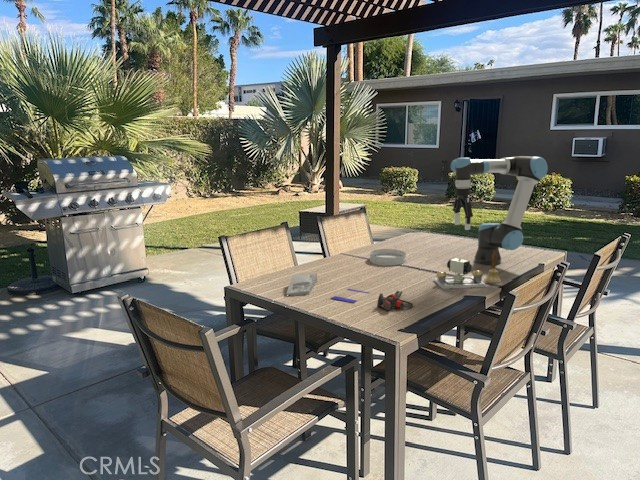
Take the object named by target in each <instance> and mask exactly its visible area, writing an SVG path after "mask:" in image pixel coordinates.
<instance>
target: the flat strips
mask: <svg viewBox="0 0 640 480" xmlns="http://www.w3.org/2000/svg"><path fill="white" fill-rule="evenodd" d="M346 291H352V292H356V293H362V294H363V293H364V294H370V292H369V291H363V290H362V291H361V290H358V289H352V288H347V289H346ZM330 299H333V300H336V301H337V300H338V301H341V302H342V301H343V302H348V303H352V304H353V303H355V302H357V301H358V300H356V299H351V298H346V297H341V296H337V295H335V296H332V297H330Z"/></svg>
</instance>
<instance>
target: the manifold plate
mask: <svg viewBox="0 0 640 480" xmlns="http://www.w3.org/2000/svg"><path fill="white" fill-rule="evenodd" d="M483 275H484V271H483V270H482V269H481V270H473V271H472V275H470V276H464V281H461V282H457V281H454V279H453V276H450V277H447V273H446V271H437V272H436V277H434V278H433V281H434V282H435V284H437V285H438V286H439V287H440V289H443V290H448V289H450V288H452V289H469V288H470V289H471V287H472V289H473V287H475V288H486V286H487V284H486V283H485V282H484V281H482V279H483Z"/></svg>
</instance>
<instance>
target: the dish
mask: <svg viewBox="0 0 640 480" xmlns="http://www.w3.org/2000/svg"><path fill="white" fill-rule="evenodd" d="M369 262H370V263H371V264H375V265H377V266H378V265H379V266H399V265H404V264H405V263H406V262H407V253H406V251H404V250H400V249H394V248H393V249H391V248H381V249H374V250H372V251H370V252H369Z"/></svg>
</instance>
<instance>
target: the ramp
mask: <svg viewBox="0 0 640 480" xmlns="http://www.w3.org/2000/svg"><path fill="white" fill-rule="evenodd" d="M317 282H318V272H314V273H310V274H309V273H308V274H293V275H292V276H291V278H290V281H289V285H288V288H287V290H286V291H287V292H286V293H285V294H286V295H297V296H305V295H304V294H308V295H310V294H311V292H312V290H313V289H314V287H315V285H316V284H317ZM286 295H285V296H286Z"/></svg>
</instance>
